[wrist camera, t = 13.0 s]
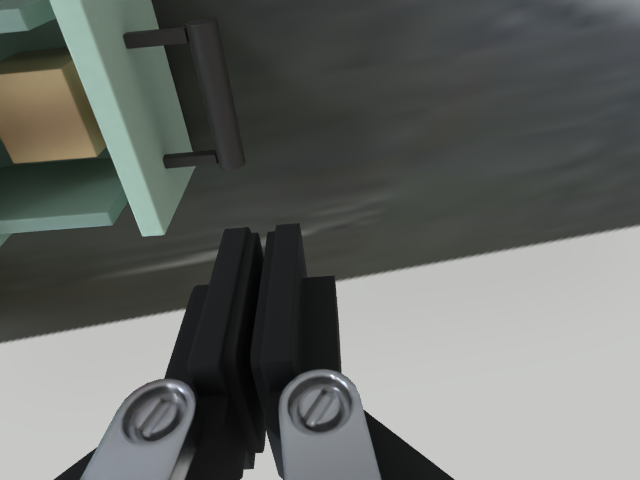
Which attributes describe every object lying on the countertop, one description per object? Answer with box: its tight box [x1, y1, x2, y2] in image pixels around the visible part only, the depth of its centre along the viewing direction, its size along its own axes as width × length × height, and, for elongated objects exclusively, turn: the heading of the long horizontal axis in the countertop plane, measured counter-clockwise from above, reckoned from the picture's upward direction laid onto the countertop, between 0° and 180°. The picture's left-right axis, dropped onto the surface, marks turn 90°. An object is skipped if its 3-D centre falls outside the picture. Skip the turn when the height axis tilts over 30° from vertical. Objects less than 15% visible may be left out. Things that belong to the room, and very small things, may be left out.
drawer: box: [0, 0, 246, 236], centre depth 23 cm, size 18×11×8 cm, turn 95°
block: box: [0, 47, 107, 164], centre depth 24 cm, size 4×4×4 cm
